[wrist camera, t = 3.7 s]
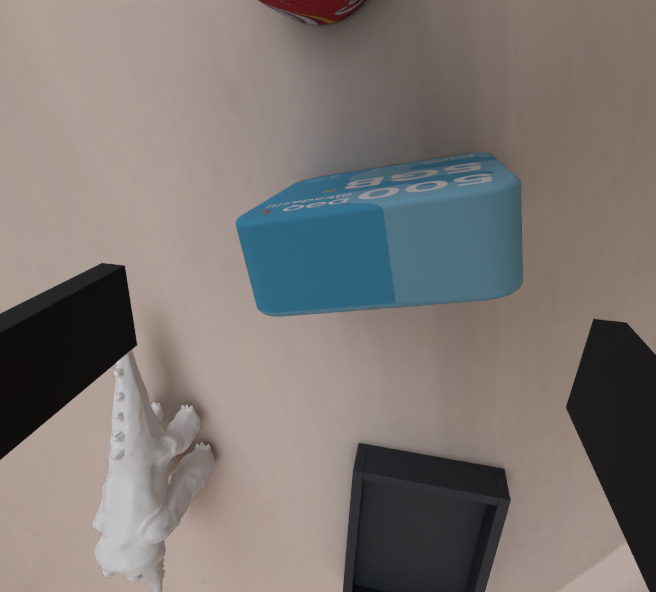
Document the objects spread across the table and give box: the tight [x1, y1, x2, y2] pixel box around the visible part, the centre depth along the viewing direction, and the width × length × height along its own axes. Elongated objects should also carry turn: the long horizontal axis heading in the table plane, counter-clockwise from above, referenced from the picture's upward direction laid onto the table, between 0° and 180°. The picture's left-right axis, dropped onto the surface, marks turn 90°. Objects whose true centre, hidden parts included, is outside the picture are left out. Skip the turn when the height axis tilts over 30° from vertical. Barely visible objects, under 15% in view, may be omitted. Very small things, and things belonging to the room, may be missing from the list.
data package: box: [236, 152, 523, 316], centre depth 24 cm, size 12×4×12 cm, turn 100°
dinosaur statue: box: [93, 350, 215, 592], centre depth 35 cm, size 7×24×11 cm, turn 3°
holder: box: [343, 443, 511, 592], centre depth 38 cm, size 12×18×3 cm, turn 177°
